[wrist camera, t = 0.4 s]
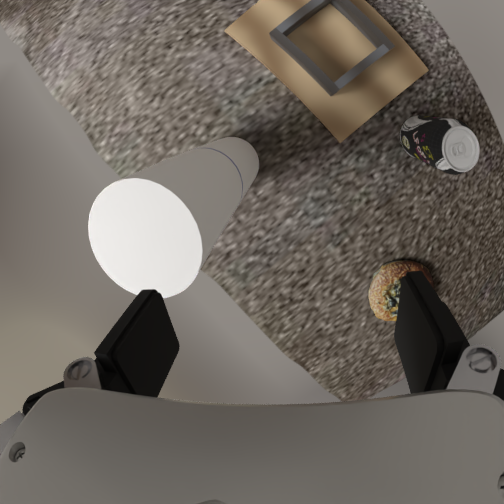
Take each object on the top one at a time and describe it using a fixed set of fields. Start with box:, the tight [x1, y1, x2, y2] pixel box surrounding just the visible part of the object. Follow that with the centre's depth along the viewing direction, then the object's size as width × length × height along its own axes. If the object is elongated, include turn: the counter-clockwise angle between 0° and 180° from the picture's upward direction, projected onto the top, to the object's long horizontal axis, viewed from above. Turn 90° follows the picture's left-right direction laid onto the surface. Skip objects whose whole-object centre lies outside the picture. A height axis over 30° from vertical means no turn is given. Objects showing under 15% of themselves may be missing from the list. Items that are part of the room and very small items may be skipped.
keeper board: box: [225, 0, 429, 143], centre depth 28 cm, size 16×20×4 cm
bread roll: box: [368, 260, 434, 321], centre depth 41 cm, size 11×11×5 cm
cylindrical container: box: [88, 137, 259, 298], centre depth 27 cm, size 7×7×25 cm
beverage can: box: [400, 116, 479, 175], centre depth 27 cm, size 6×6×12 cm
